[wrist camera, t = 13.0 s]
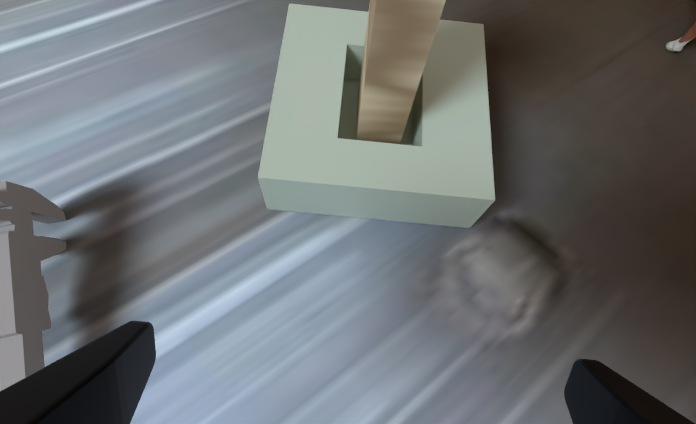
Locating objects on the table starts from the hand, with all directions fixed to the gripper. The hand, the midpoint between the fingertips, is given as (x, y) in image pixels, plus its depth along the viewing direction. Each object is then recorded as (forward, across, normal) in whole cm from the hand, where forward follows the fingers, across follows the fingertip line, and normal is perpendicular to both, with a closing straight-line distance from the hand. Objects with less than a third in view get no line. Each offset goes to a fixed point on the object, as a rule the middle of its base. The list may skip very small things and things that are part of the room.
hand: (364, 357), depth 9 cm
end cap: (+20, -1, -1) cm, 20 cm away
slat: (+19, -1, -2) cm, 19 cm away
